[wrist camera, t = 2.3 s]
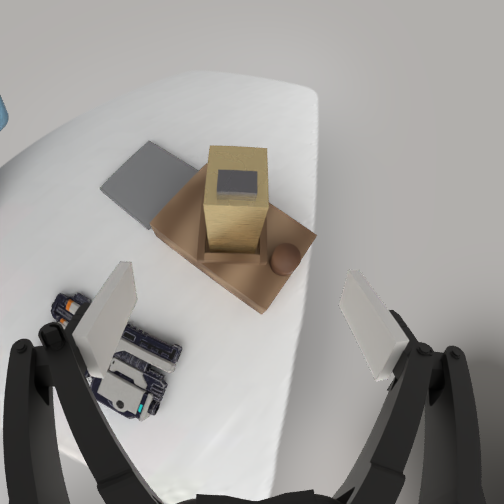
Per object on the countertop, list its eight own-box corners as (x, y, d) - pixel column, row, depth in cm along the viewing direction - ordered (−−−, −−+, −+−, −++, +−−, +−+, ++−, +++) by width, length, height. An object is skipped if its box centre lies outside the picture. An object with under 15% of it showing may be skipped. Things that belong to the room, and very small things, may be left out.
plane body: (155, 237, 35) (142, 215, 29) (208, 178, 39) (207, 150, 33) (260, 315, 33) (268, 308, 27) (308, 245, 37) (324, 225, 31)
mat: (101, 190, 37) (99, 188, 36) (150, 143, 40) (149, 140, 40) (148, 229, 36) (147, 227, 35) (200, 174, 39) (199, 171, 38)
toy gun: (33, 373, 27) (65, 284, 33) (145, 447, 26) (184, 347, 32) (22, 373, 25) (55, 279, 30) (139, 454, 24) (180, 346, 29)
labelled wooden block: (209, 252, 31) (202, 196, 20) (213, 205, 33) (209, 136, 22) (254, 253, 32) (271, 199, 20) (254, 206, 34) (268, 139, 22)
